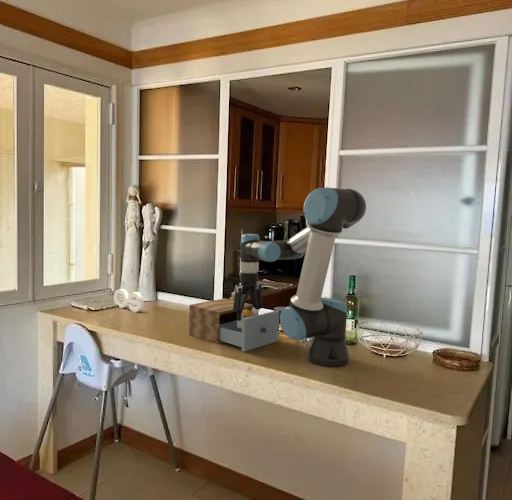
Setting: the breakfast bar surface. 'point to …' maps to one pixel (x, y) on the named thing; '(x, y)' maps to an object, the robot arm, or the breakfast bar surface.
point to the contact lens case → (129, 300)
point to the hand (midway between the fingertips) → (247, 326)
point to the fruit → (248, 313)
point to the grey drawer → (251, 331)
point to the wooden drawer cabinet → (211, 318)
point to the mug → (279, 311)
